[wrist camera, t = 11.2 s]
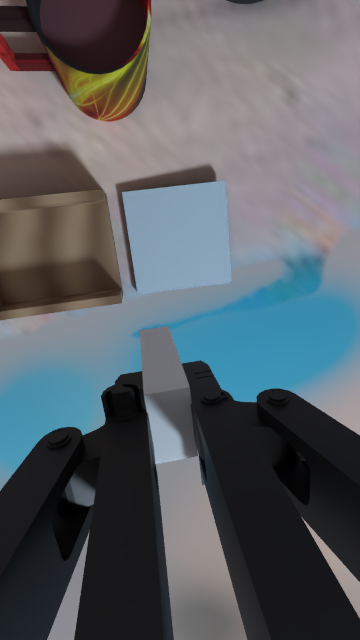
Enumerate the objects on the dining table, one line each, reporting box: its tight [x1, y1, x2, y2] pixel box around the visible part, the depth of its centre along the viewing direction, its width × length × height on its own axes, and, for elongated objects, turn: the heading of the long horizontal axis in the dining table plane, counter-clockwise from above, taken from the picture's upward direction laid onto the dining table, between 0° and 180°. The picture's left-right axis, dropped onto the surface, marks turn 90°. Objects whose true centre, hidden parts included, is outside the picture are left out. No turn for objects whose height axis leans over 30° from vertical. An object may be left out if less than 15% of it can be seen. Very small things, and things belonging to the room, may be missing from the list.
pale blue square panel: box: [122, 181, 232, 294], centre depth 41 cm, size 13×13×1 cm
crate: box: [0, 189, 123, 320], centre depth 38 cm, size 16×13×6 cm
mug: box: [0, 0, 151, 121], centre depth 30 cm, size 10×14×12 cm
